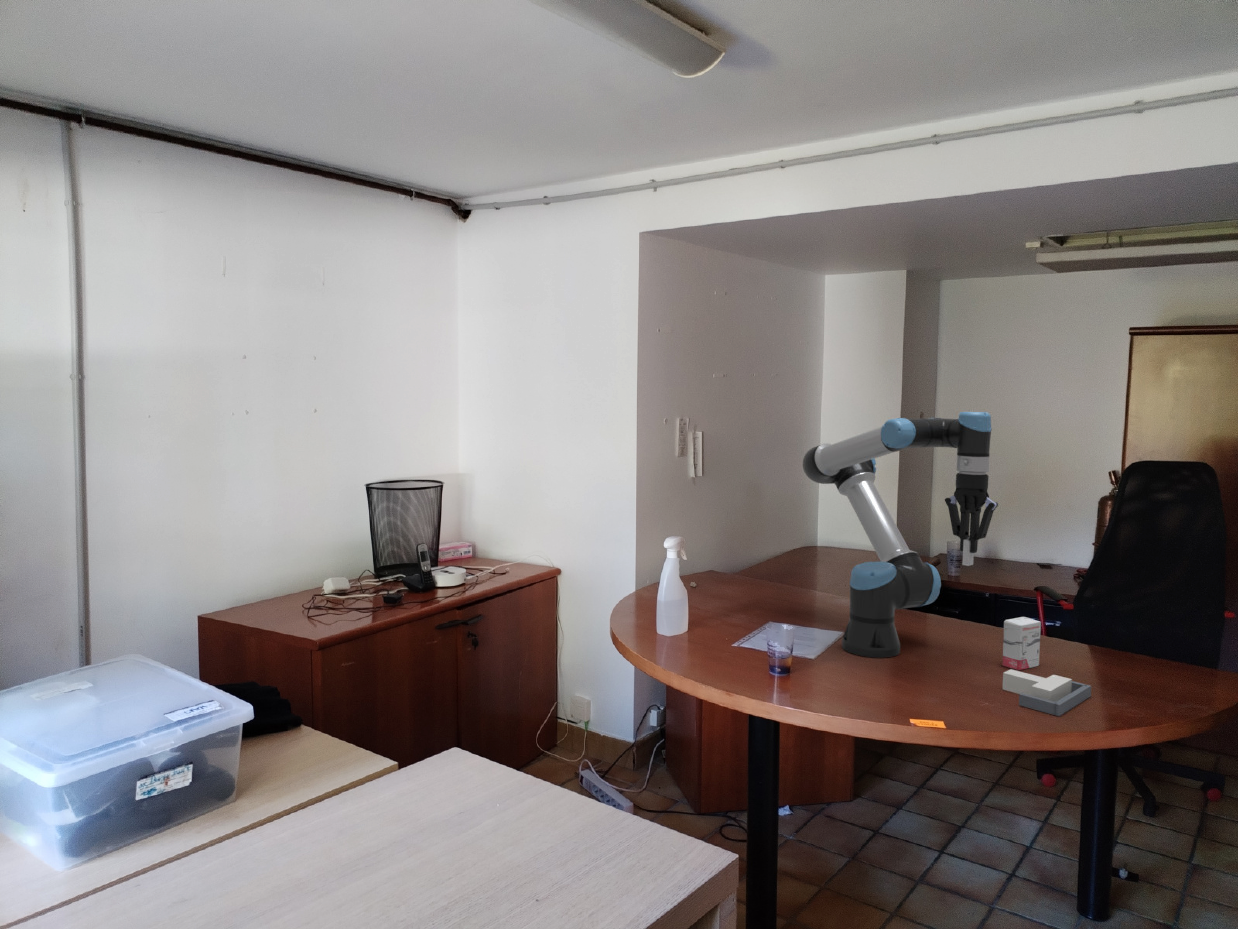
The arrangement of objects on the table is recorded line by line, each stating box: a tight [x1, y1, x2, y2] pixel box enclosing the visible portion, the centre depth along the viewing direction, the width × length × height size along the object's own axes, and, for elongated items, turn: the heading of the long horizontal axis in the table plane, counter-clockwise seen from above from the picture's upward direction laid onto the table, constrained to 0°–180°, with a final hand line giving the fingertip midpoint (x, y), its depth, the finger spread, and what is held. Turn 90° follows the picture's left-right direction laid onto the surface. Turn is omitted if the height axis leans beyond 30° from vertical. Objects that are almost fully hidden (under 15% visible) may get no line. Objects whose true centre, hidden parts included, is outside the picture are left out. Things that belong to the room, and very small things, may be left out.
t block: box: [1002, 668, 1073, 702], centre depth 182 cm, size 12×12×4 cm
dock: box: [1018, 680, 1092, 717], centre depth 178 cm, size 8×18×2 cm, turn 131°
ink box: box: [1002, 616, 1042, 671], centre depth 202 cm, size 9×5×12 cm, turn 118°
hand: (967, 564), depth 201 cm, fingers closed
